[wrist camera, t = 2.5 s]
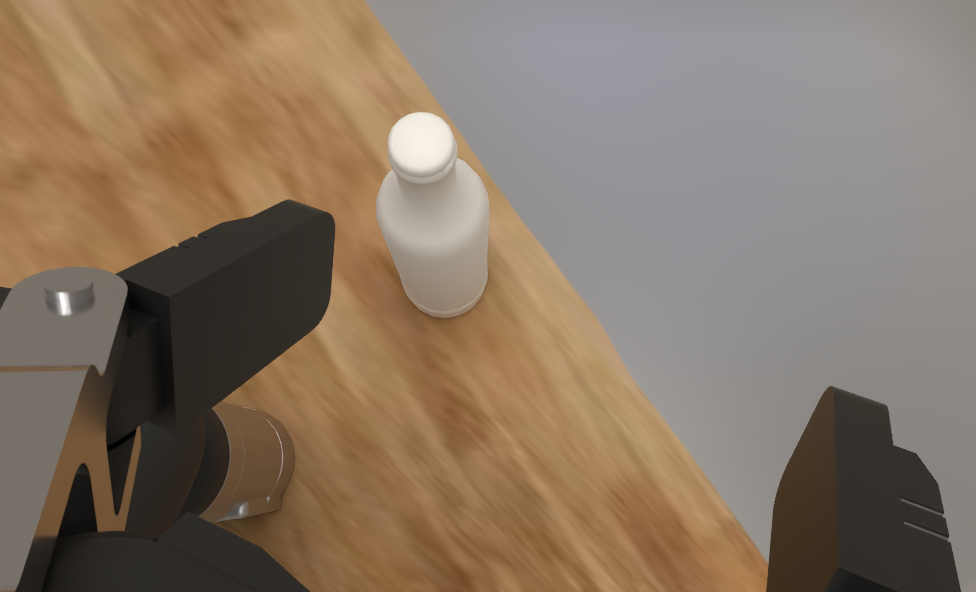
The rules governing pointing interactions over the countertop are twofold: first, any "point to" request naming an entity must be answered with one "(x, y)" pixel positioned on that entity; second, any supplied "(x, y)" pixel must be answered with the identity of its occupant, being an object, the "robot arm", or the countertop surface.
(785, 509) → the robot arm
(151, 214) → the countertop surface
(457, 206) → the bottle
